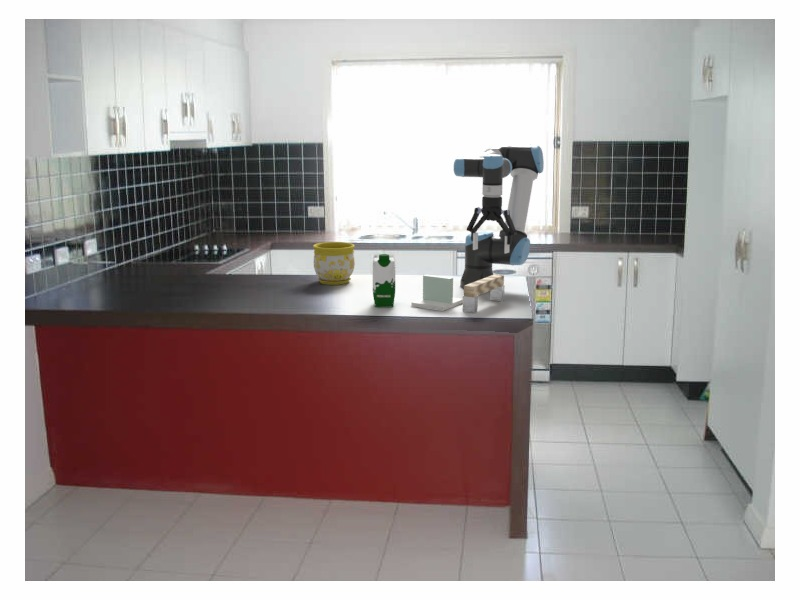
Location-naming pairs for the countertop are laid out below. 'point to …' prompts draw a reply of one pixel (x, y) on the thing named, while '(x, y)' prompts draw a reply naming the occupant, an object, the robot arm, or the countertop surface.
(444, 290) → the ridge stand
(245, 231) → the countertop surface
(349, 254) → the flowerpot
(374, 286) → the milk carton
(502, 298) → the posts
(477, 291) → the batten
